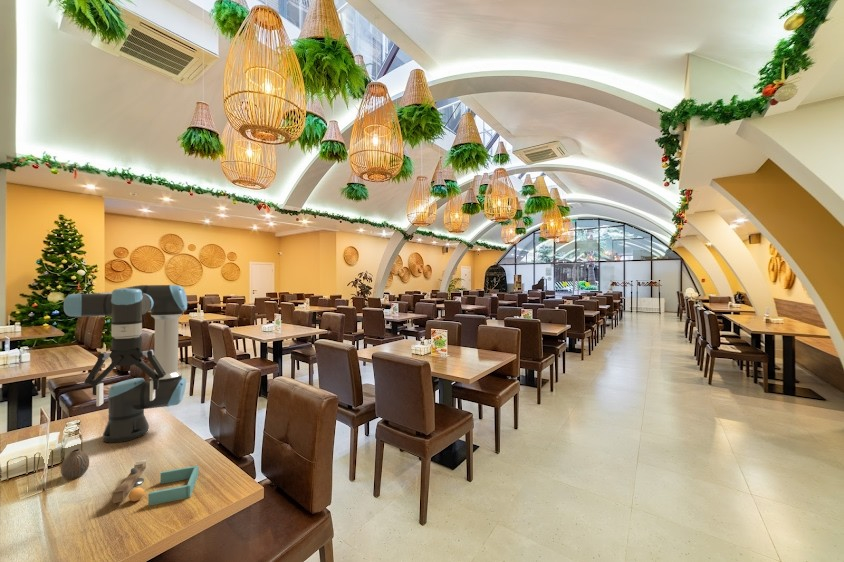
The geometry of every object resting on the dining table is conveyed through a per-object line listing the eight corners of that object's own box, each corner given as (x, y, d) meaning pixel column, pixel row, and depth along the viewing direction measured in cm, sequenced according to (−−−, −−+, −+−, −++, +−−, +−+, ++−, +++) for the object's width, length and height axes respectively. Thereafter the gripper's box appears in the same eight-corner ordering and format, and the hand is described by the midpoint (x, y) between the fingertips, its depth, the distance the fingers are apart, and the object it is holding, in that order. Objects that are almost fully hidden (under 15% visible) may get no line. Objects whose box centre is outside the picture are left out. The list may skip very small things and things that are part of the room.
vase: (71, 483, 114) (71, 456, 114) (54, 480, 116) (55, 454, 116) (94, 471, 121) (94, 446, 121) (79, 469, 122) (79, 444, 122)
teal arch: (161, 482, 115) (161, 471, 115) (198, 475, 119) (198, 465, 119) (148, 505, 103) (148, 494, 103) (190, 497, 107) (190, 486, 107)
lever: (137, 471, 120) (137, 459, 120) (145, 469, 121) (145, 458, 121) (112, 505, 102) (112, 492, 102) (123, 503, 103) (123, 490, 103)
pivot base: (127, 481, 115) (127, 479, 115) (146, 477, 117) (146, 476, 117) (121, 489, 111) (121, 488, 111) (140, 485, 113) (140, 484, 113)
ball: (131, 498, 107) (131, 486, 106) (145, 495, 108) (145, 484, 108) (126, 505, 103) (126, 493, 103) (141, 502, 105) (141, 490, 105)
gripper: (69, 340, 103) (69, 411, 104) (170, 336, 113) (169, 401, 113) (82, 336, 110) (82, 402, 111) (176, 332, 120) (176, 393, 120)
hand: (126, 402), depth 112 cm, fingers open, 13 cm apart
